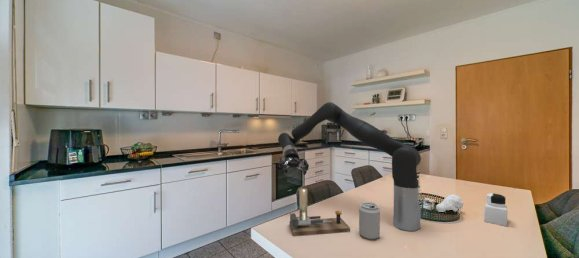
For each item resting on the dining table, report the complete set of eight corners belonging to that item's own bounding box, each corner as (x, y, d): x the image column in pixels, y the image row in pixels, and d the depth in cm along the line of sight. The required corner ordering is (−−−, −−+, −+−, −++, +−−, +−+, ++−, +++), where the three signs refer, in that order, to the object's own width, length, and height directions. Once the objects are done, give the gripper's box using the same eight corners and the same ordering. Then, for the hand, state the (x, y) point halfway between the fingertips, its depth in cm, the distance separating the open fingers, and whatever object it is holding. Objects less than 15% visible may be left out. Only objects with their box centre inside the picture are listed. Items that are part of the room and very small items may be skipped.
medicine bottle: (506, 221, 97) (507, 194, 97) (507, 226, 92) (507, 198, 92) (484, 216, 102) (485, 191, 102) (484, 221, 97) (484, 194, 97)
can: (377, 242, 80) (377, 209, 80) (356, 237, 84) (356, 205, 84) (381, 234, 86) (381, 203, 86) (361, 229, 90) (361, 200, 90)
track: (340, 220, 98) (340, 207, 98) (350, 231, 88) (350, 216, 88) (289, 224, 95) (289, 210, 94) (293, 236, 85) (293, 220, 85)
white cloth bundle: (464, 196, 105) (441, 199, 103) (465, 213, 105) (443, 217, 103) (452, 192, 111) (431, 195, 109) (454, 208, 111) (432, 212, 110)
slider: (320, 218, 94) (320, 186, 93) (323, 223, 89) (323, 190, 89) (296, 220, 92) (296, 188, 92) (298, 225, 88) (298, 191, 87)
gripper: (278, 147, 112) (282, 164, 97) (305, 149, 115) (312, 166, 100) (276, 159, 115) (279, 178, 100) (302, 162, 118) (309, 180, 103)
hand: (295, 172), depth 100 cm, fingers open, 8 cm apart
